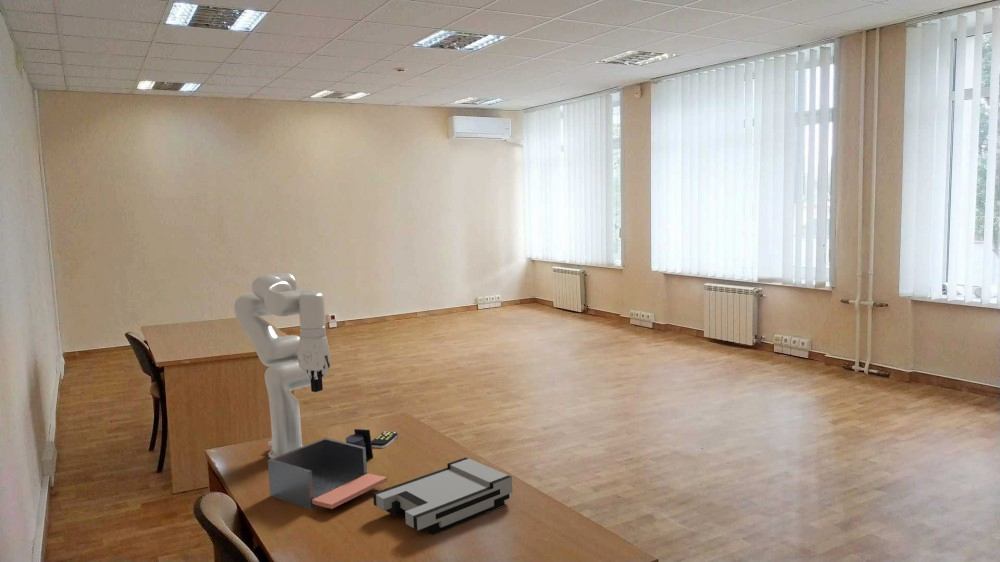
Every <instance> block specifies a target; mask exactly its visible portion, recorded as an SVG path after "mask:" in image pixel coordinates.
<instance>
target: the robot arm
mask: <svg viewBox="0 0 1000 562" xmlns="http://www.w3.org/2000/svg"><path fill="white" fill-rule="evenodd" d="M251 290H252V292H250V293H245V294H242V295H240V296H238V297H237V298H236V299H235V301H234V303H233V306H234V307H233V308H234V314H235V318H236V320H237V323H238V324H239V326H240V327H241V329H242V330H243V331H244V333H245V334H246V335H247V337H248V338H249V339H250V341H251V344H252V346H253V348H254V350H255V352H256V354H257V356H258V359H259V360H260V362H261V363H262V365H264V366H265V367H268V368H267V369H266V370H265V372H264V382H265V386H266V390H267V395H268V402H269V411H270V425H271V427H270V428H271V439H270V441H268V442H267V445H268V446H270V447H271V450H270V451H268V458H269V459H272V458H274V457H277V456H279V455H282V454H285V453H287V452H290V451H292V450H295V449H297V448H300V447H302V446H304V445H303V440H302V439H303V438H302V427H301V426H302V424H301V423H302V422H301V412H300V411H301V410H300V402H299V400H298V398H297V397H296V396H295V394H293V393H292V391H294V390H297V389H302V388H306V387H310V390H311V392H313V393H317V392H321V391H323V389H324V388H323V387H324V386H323V378H324V376H325V375H328V374H330V370H329V369H330V368H331V352H330V346H329V341H328V338H327V328H326V314H325V313H326V310H325V299H324V298H325V297H324V295H323V293H322V292H318V291H316V290H313V289H311V288H304V289H298V283H297V280H296V278H295V277H294V275H292V273H289V272H278V273H268V274H262V275H259V276H257V277H255V279H254V280H253V281H252V284H251ZM272 315H274V316H277V317H288V316H295V315H296V316H297V315H299V326H300V331H299V332H300V336H299V335H296V334H295V335H294V334H291V335H284V336H280V335H278V334H277V332H276V331H275V328H274V326H272V324H270V323H269V322H267V321H266V320H264V319H263V318H261V317H264V316H272Z"/></svg>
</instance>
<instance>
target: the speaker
mask: <svg viewBox="0 0 1000 562" xmlns="http://www.w3.org/2000/svg"><path fill="white" fill-rule="evenodd" d="M371 441H372V438H371V431H370V429H362V428H360V429H359V428H354V434H350V435H349V436H347V437H346V438H345V442H346V443H350V444H354V445H358V446H362V447H366V459H373V458H374V452H373V447H372V444H371Z"/></svg>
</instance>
